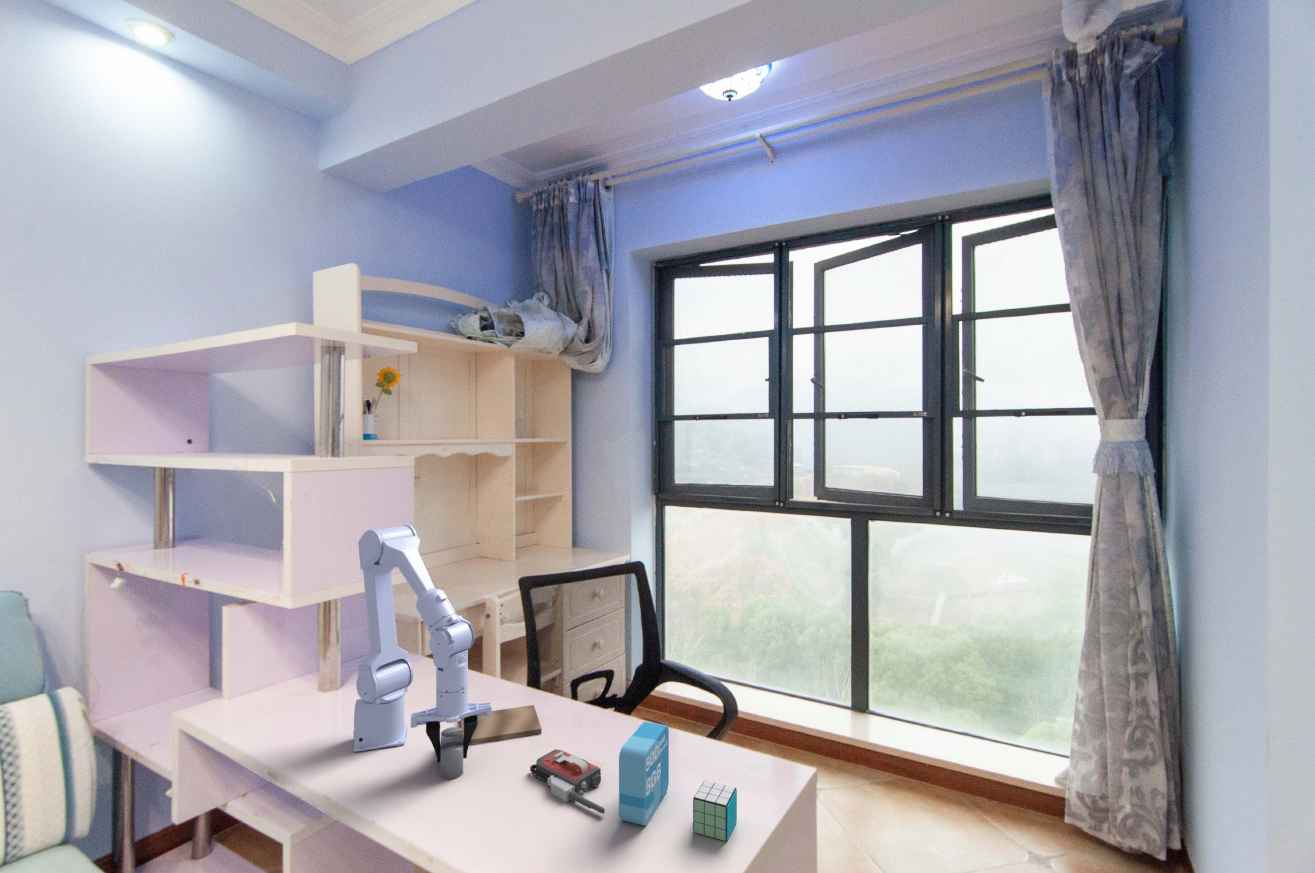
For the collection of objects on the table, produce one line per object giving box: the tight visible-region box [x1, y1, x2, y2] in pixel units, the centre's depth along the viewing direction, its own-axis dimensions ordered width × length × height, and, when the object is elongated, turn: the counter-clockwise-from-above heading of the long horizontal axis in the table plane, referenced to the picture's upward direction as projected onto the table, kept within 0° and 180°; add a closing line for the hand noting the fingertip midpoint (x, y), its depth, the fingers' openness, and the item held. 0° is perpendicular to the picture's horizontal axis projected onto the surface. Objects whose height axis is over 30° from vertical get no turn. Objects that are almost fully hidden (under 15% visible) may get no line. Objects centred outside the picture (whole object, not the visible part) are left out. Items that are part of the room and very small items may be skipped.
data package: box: [618, 721, 670, 826], centre depth 103 cm, size 12×4×12 cm, turn 160°
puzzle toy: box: [692, 779, 738, 842], centre depth 97 cm, size 6×6×6 cm
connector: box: [440, 726, 464, 781], centre depth 116 cm, size 4×13×5 cm, turn 19°
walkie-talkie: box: [529, 749, 606, 814], centre depth 108 cm, size 9×4×20 cm
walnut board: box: [460, 704, 542, 746], centre depth 131 cm, size 16×12×1 cm
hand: (451, 757), depth 115 cm, fingers closed on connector, 4 cm apart
